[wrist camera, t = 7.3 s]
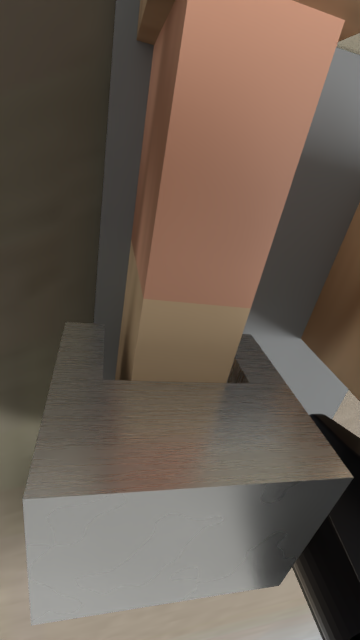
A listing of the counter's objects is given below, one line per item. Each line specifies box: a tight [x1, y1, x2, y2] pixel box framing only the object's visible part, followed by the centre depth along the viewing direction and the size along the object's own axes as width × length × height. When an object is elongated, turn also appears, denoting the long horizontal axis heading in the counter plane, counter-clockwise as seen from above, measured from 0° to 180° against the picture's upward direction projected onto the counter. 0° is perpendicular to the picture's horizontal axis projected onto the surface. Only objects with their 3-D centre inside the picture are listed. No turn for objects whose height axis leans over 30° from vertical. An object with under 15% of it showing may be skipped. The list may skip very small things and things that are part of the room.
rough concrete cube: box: [23, 322, 354, 625], centre depth 8 cm, size 4×5×5 cm
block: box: [115, 0, 360, 401], centre depth 8 cm, size 14×10×6 cm
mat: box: [94, 0, 360, 419], centre depth 11 cm, size 14×12×1 cm
